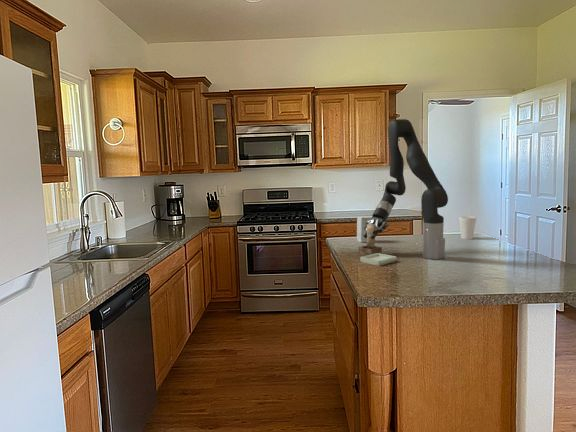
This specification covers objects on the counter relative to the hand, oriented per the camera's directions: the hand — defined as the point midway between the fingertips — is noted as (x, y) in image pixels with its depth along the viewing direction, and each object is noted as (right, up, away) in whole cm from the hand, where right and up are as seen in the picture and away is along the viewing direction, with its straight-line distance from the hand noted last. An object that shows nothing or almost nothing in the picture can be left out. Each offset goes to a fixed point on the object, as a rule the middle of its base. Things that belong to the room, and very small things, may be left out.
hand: (368, 237), depth 205 cm
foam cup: (+67, -3, +40) cm, 78 cm away
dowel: (+2, -5, +2) cm, 6 cm away
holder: (+1, -9, +2) cm, 9 cm away
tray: (+2, -11, -14) cm, 17 cm away
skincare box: (+5, -4, +37) cm, 37 cm away
